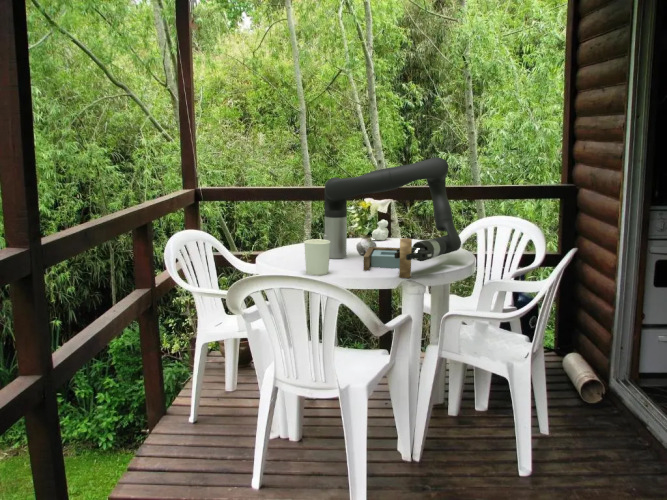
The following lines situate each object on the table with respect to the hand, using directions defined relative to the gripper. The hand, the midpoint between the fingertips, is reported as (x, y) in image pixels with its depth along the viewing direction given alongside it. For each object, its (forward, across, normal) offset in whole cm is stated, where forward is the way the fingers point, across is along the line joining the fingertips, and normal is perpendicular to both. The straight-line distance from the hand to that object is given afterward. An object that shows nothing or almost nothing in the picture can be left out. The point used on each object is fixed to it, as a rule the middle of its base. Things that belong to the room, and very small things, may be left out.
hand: (401, 256), depth 238 cm
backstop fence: (-14, -16, +8) cm, 23 cm away
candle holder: (+13, -29, +8) cm, 33 cm away
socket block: (-16, -17, +8) cm, 25 cm away
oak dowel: (-3, 0, +8) cm, 8 cm away
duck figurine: (-61, -52, +8) cm, 81 cm away
